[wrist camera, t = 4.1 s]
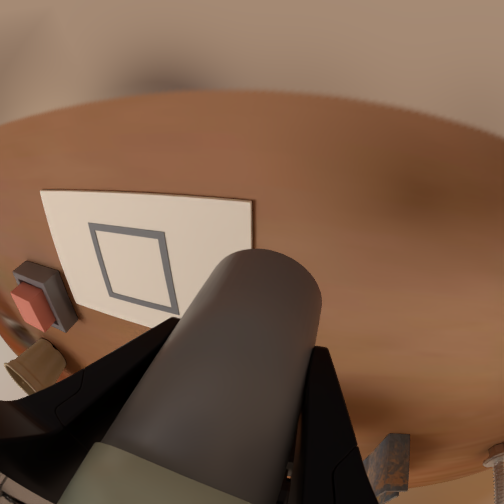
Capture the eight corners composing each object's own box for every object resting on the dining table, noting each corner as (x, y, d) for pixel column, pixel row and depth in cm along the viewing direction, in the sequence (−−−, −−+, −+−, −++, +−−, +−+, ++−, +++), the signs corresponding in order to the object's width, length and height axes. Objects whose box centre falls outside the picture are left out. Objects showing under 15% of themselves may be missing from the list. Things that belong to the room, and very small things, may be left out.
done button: (42, 289, 27) (29, 301, 25) (56, 319, 29) (44, 332, 28) (23, 281, 28) (10, 292, 26) (36, 310, 31) (24, 321, 29)
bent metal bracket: (378, 464, 32) (370, 524, 24) (359, 463, 33) (348, 523, 25) (413, 431, 27) (409, 507, 19) (389, 430, 27) (382, 508, 19)
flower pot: (45, 328, 37) (11, 365, 30) (83, 373, 41) (54, 411, 33) (28, 331, 41) (-2, 362, 34) (60, 370, 45) (35, 402, 38)
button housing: (58, 270, 28) (43, 283, 26) (78, 319, 32) (66, 332, 30) (26, 260, 30) (12, 271, 28) (45, 305, 33) (33, 316, 31)
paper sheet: (252, 200, 18) (250, 203, 18) (253, 350, 25) (252, 353, 24) (42, 189, 23) (39, 191, 23) (77, 301, 30) (75, 303, 29)
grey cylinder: (349, 287, 9) (289, 606, 2) (287, 355, 12) (211, 573, 4) (232, 222, 9) (29, 511, 2) (194, 306, 12) (67, 509, 4)
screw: (505, 449, 25) (478, 457, 27) (515, 435, 23) (486, 444, 25) (509, 522, 14) (478, 532, 16) (521, 516, 12) (488, 527, 14)
